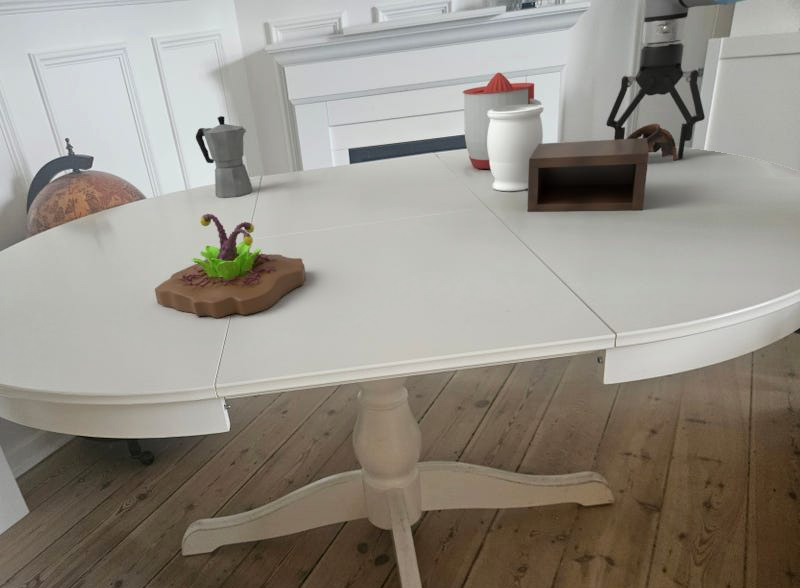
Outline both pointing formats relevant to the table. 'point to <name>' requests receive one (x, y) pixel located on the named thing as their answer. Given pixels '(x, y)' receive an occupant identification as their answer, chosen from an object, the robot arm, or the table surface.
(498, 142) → the jar
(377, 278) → the table surface
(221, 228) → the plant
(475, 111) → the citrus juicer
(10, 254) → the table surface
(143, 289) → the table surface
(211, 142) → the coffeepot
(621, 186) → the stand
